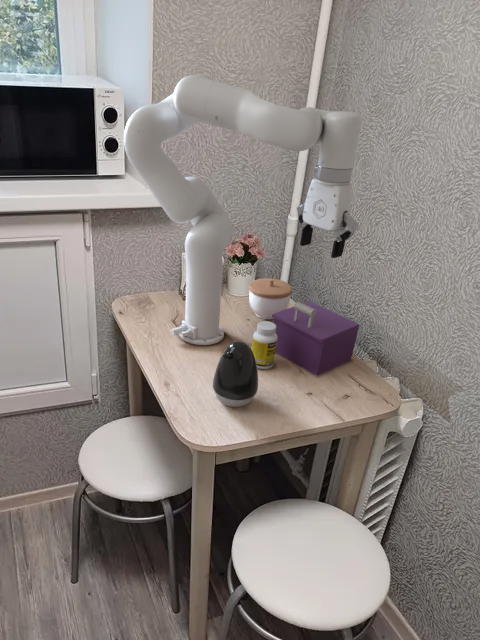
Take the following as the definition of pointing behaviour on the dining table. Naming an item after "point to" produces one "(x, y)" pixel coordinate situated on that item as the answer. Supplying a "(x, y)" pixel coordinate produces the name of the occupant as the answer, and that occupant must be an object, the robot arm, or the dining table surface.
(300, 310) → the file box lid
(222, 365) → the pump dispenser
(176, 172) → the robot arm
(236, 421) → the dining table surface
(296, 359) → the box
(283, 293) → the lidded bowl
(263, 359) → the pill bottle
